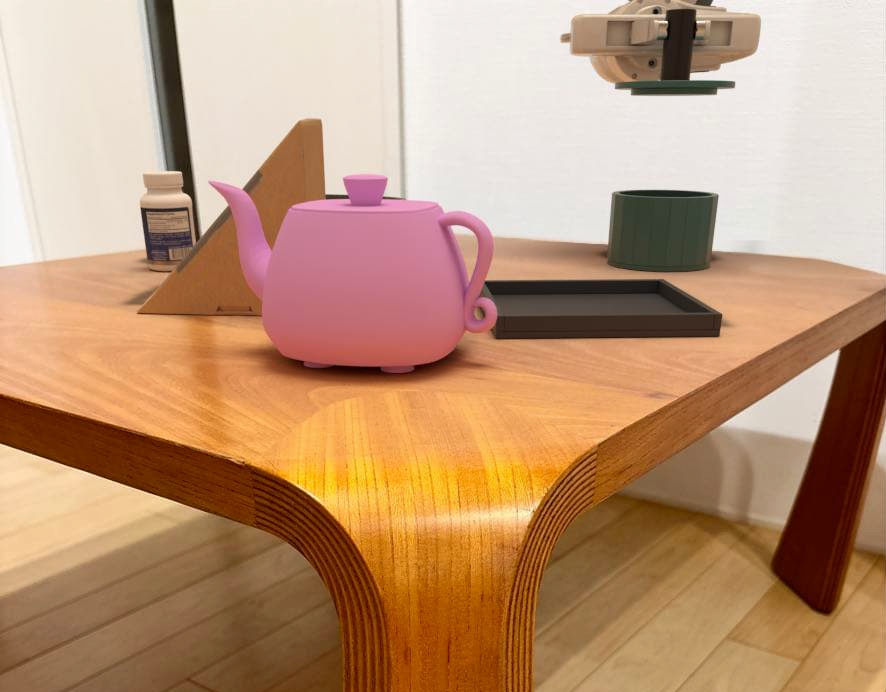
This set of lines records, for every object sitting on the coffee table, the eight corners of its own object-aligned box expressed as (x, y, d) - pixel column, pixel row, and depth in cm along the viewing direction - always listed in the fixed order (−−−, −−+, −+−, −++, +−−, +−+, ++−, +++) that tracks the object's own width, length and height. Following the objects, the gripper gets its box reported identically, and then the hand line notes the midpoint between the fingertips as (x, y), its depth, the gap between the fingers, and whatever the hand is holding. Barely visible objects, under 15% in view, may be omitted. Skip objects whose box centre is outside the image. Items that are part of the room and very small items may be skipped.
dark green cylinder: (692, 256, 109) (699, 189, 106) (724, 271, 99) (733, 197, 95) (597, 257, 108) (602, 189, 105) (620, 272, 98) (626, 197, 95)
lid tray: (661, 297, 84) (663, 278, 84) (719, 336, 70) (722, 313, 69) (476, 299, 83) (476, 280, 83) (495, 338, 69) (496, 315, 68)
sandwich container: (167, 295, 85) (146, 117, 78) (331, 297, 84) (322, 118, 77) (133, 313, 77) (106, 117, 71) (313, 316, 76) (302, 118, 70)
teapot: (513, 342, 67) (518, 171, 62) (475, 390, 56) (479, 184, 51) (262, 328, 72) (248, 166, 67) (178, 370, 60) (154, 178, 55)
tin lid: (711, 96, 101) (720, 16, 98) (751, 93, 90) (763, 3, 87) (603, 96, 100) (608, 16, 97) (629, 93, 89) (636, 3, 86)
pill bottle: (159, 264, 102) (147, 170, 98) (206, 264, 102) (196, 170, 98) (140, 271, 97) (127, 173, 93) (189, 272, 97) (178, 173, 93)
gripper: (558, 8, 103) (582, -7, 90) (736, 8, 104) (784, -7, 91) (555, 71, 105) (578, 64, 93) (729, 71, 106) (775, 65, 94)
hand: (682, 29), depth 92 cm, fingers closed on tin lid, 3 cm apart
